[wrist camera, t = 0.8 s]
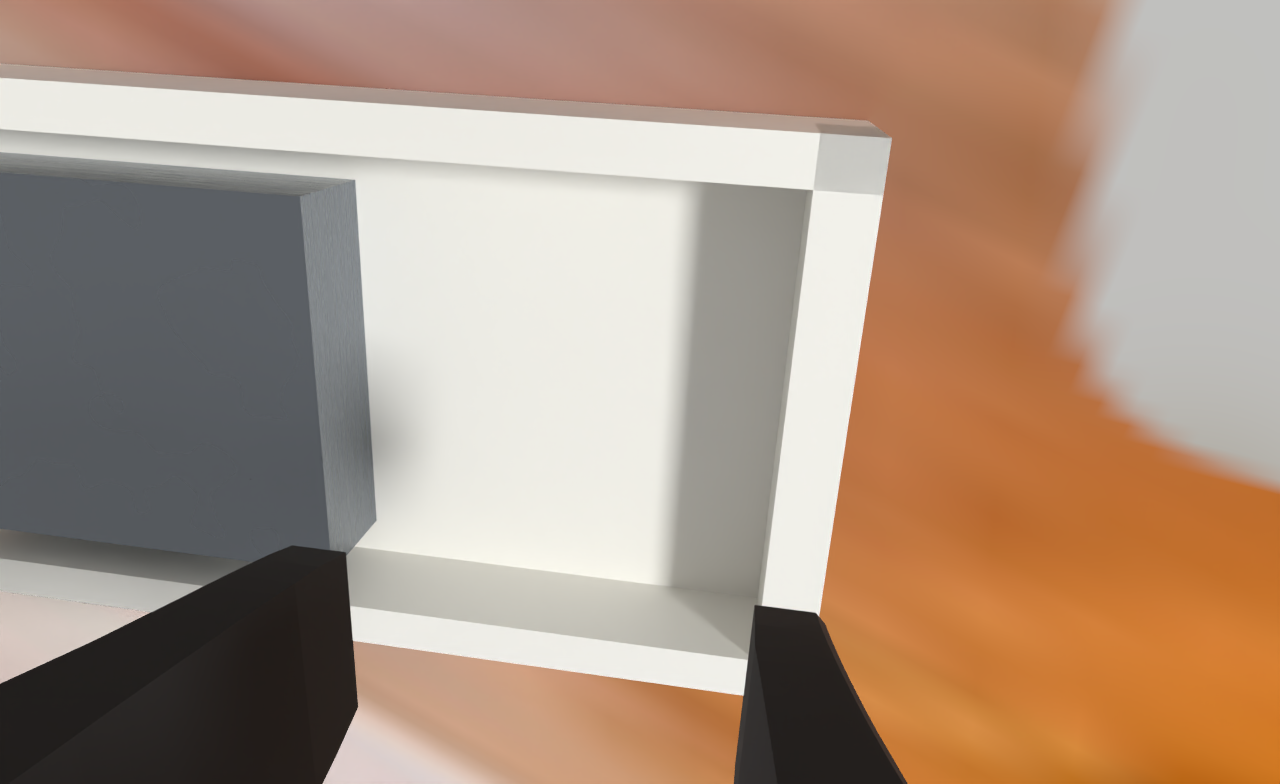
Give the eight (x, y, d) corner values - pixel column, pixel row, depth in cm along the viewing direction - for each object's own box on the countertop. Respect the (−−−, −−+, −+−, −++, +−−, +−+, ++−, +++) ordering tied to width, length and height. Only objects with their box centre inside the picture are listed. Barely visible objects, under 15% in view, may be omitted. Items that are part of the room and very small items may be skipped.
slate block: (376, 520, 18) (332, 572, 17) (28, 477, 19) (-51, 522, 18) (355, 179, 16) (300, 196, 14) (-45, 148, 17) (-146, 160, 15)
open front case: (801, 595, 19) (805, 704, 16) (89, 505, 21) (-34, 586, 18) (868, 120, 16) (892, 138, 13) (2, 63, 18) (-171, 66, 14)
